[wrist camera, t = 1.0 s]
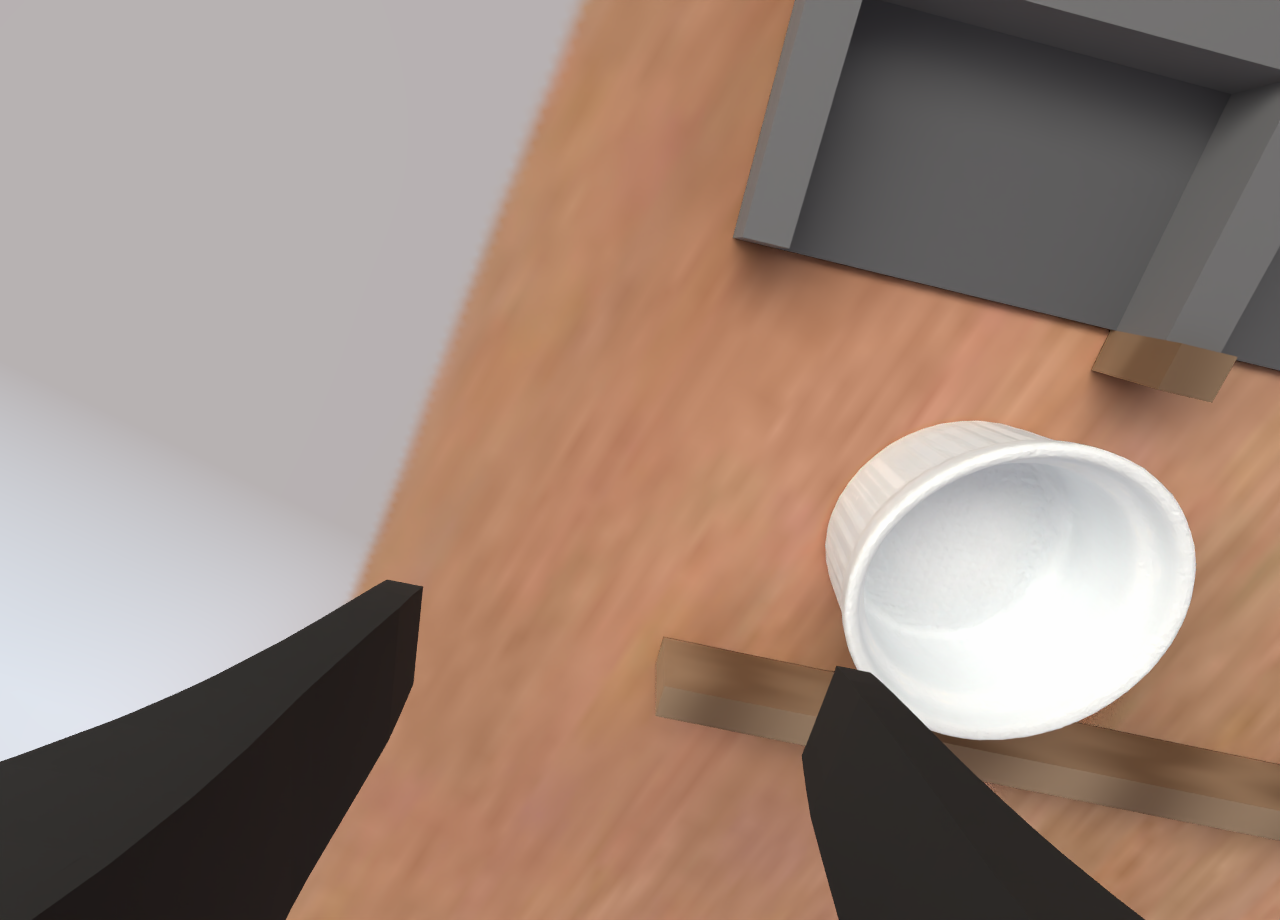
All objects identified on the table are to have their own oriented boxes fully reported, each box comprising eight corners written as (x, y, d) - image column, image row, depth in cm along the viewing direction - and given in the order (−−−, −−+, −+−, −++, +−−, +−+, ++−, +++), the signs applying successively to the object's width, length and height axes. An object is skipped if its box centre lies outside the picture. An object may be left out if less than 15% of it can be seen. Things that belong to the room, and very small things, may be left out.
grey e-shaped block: (1705, 165, 16) (1847, 155, 14) (1510, 427, 18) (1609, 448, 16) (815, -78, 14) (838, -126, 13) (732, 237, 17) (742, 237, 15)
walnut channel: (1842, 507, 19) (2097, 564, 15) (1514, 840, 23) (1654, 937, 20) (774, 247, 17) (803, 249, 14) (655, 664, 22) (655, 740, 18)
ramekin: (777, 452, 19) (810, 509, 15) (1071, 360, 18) (1192, 395, 14) (841, 674, 22) (884, 773, 18) (1099, 607, 21) (1209, 696, 17)
